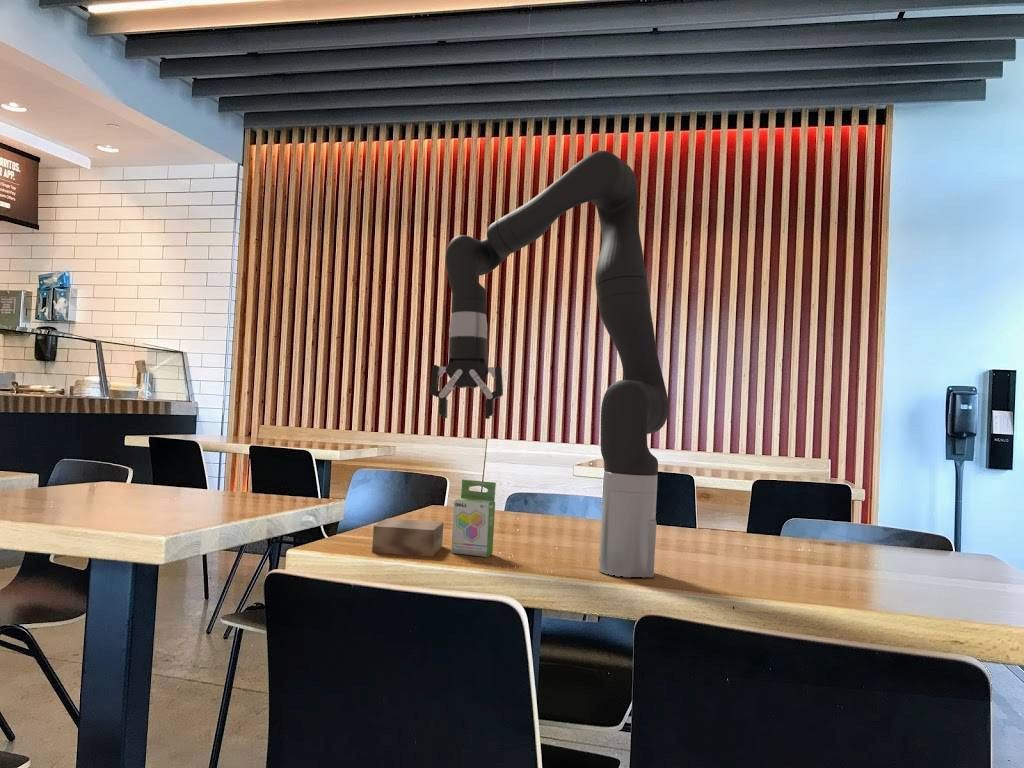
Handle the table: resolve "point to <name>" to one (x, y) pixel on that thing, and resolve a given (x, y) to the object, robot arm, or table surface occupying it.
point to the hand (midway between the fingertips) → (465, 418)
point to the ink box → (474, 520)
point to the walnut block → (407, 537)
